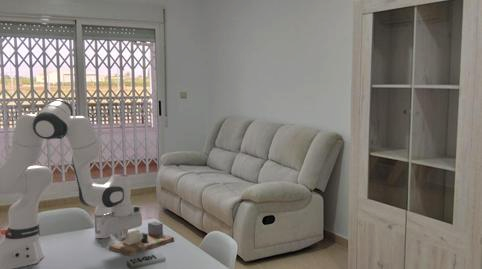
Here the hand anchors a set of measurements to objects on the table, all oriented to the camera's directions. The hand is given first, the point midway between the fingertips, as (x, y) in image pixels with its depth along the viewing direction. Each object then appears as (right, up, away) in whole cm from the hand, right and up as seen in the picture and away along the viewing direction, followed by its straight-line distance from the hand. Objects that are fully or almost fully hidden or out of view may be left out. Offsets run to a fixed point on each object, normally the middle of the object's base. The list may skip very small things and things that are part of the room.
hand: (122, 240), depth 206 cm
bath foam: (-14, -3, +18) cm, 23 cm away
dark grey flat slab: (+10, -2, +3) cm, 11 cm away
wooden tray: (+8, -3, +6) cm, 10 cm away
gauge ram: (+5, -2, +4) cm, 7 cm away
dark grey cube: (+12, -1, +16) cm, 20 cm away
